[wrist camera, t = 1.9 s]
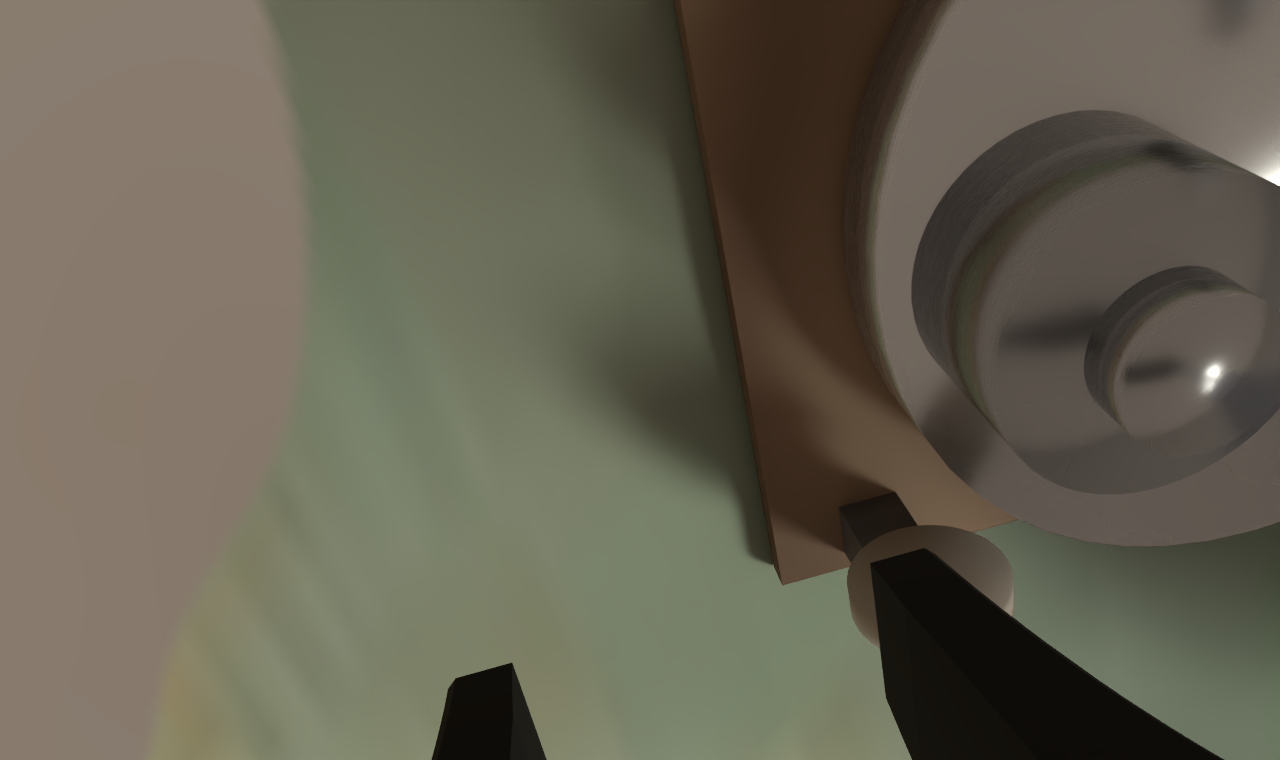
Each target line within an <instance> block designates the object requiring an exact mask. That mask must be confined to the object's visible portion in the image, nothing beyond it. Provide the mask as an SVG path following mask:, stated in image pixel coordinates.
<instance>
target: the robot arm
mask: <svg viewBox="0 0 1280 760" xmlns="http://www.w3.org/2000/svg"><path fill="white" fill-rule="evenodd" d="M870 568H871V576H872V585H873V593H874V601H875V610H876V618H877V626H878V635H879V643H880V651H881V660H882V668H883V676H884V685H885V693H886V699H887V701H888V704H889V706H890V708H891V711H892V713H893V716H894V718H895V720H896V723H897V725H898V728H899V730H900V732H901V735H902V737H903V739H904V742H905V744H906V747H907V749H908V751H909V753H910V756H911V758H912V760H1224V759H1222V758H1220V757H1219V756H1217V755H1215V754H1213V753H1212V752H1210V751H1208V750H1207V749H1205V748H1203V747H1202V746H1200V745H1198V744H1197V743H1195V742H1193V741H1192V740H1190V739H1188V738H1187V737H1185V736H1183V735H1182V734H1180V733H1179V732H1177V731H1175V730H1174V729H1172V728H1170V727H1169V726H1167V725H1166V724H1164V723H1163V722H1161V721H1160V720H1158V719H1156V718H1155V717H1153V716H1152V715H1150V714H1149V713H1147V712H1146V711H1144V710H1142V709H1141V708H1139V707H1138V706H1136V705H1135V704H1133V703H1132V702H1130V701H1129V700H1127V699H1125V698H1124V697H1122V696H1121V695H1120V694H1118V693H1117V692H1115V691H1114V690H1112V689H1111V688H1109V687H1108V686H1106V685H1105V684H1103V683H1102V682H1100V681H1099V680H1098V679H1096V678H1095V677H1093V676H1092V675H1090V674H1089V673H1088V672H1086V671H1085V670H1083V669H1082V668H1081V667H1079V666H1078V665H1077V664H1075V663H1074V662H1072V661H1071V660H1070V659H1068V658H1067V657H1065V656H1064V655H1063V654H1061V653H1060V652H1058V651H1057V650H1056V649H1054V648H1053V647H1052V646H1050V645H1049V644H1047V643H1046V642H1045V641H1043V640H1042V639H1041V638H1039V637H1038V636H1037V635H1035V634H1034V633H1033V632H1031V631H1030V630H1029V629H1027V628H1026V627H1025V626H1023V625H1022V624H1021V623H1020V622H1018V621H1017V620H1016V619H1014V618H1013V617H1012V616H1011V615H1009V614H1008V613H1007V612H1005V611H1004V610H1003V609H1002V608H1000V607H999V606H998V605H997V604H995V603H994V602H993V601H991V600H990V599H989V598H988V597H986V596H985V595H984V594H983V593H982V592H980V591H979V590H978V589H977V588H975V587H974V586H973V585H972V584H970V583H969V582H968V581H967V580H966V579H964V578H963V577H962V576H961V575H960V574H958V573H957V572H956V571H955V570H954V569H952V568H951V567H950V566H949V565H948V564H946V563H945V562H944V561H943V560H942V559H940V558H939V557H938V556H937V555H936V554H934V553H933V552H931V551H929V550H927V549H926V548H922V549H918V550H915V551H911V552H908V553H904V554H900V555H897V556H893V557H890V558H886V559H882V560H879V561H875V562H872V563H870ZM432 760H546V757H545V754H544V751H543V748H542V746H541V743H540V740H539V737H538V734H537V731H536V729H535V726H534V723H533V720H532V717H531V715H530V712H529V709H528V706H527V703H526V700H525V698H524V695H523V692H522V689H521V686H520V683H519V681H518V678H517V675H516V672H515V669H514V667H513V664H512V663H509V664H506V665H502V666H498V667H495V668H491V669H488V670H484V671H481V672H477V673H473V674H470V675H466V676H463V677H459V678H456V679H455V680H454V682H453V683H452V684H451V686H450V687H449V689H448V692H447V697H446V702H445V708H444V712H443V716H442V721H441V725H440V729H439V733H438V737H437V741H436V745H435V749H434V753H433V756H432Z"/></svg>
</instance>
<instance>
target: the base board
mask: <svg viewBox="0 0 1280 760" xmlns="http://www.w3.org/2000/svg"><path fill="white" fill-rule="evenodd" d="M903 3H904V0H674V5H675V11H676V16H677V22H678V28H679V33H680V39H681V45H682V50H683V56H684V61H685V67H686V73H687V78H688V84H689V90H690V95H691V101H692V106H693V112H694V118H695V123H696V129H697V135H698V140H699V146H700V152H701V157H702V163H703V168H704V174H705V180H706V185H707V191H708V197H709V202H710V208H711V213H712V219H713V225H714V230H715V236H716V242H717V247H718V253H719V259H720V264H721V270H722V275H723V281H724V287H725V292H726V298H727V304H728V309H729V315H730V320H731V326H732V332H733V337H734V343H735V349H736V354H737V360H738V366H739V371H740V377H741V382H742V388H743V394H744V399H745V405H746V411H747V416H748V422H749V428H750V433H751V439H752V444H753V450H754V456H755V461H756V467H757V473H758V478H759V484H760V489H761V495H762V501H763V506H764V512H765V518H766V523H767V529H768V535H769V540H770V546H771V551H772V557H773V563H774V568H775V570H776V572H777V574H778V577H779V579H780V581H781V583H782V585H785V584H789V583H793V582H796V581H800V580H803V579H807V578H811V577H814V576H818V575H821V574H825V573H828V572H832V571H836V570H839V569H843V568H846V567H849V570H848V575H847V586H848V593H849V601H850V608H851V613H852V617H853V620H854V622H855V624H856V626H857V627H858V629H859V631H860V632H861V633H862V634H863V635H864V636H865V637H866V638H867V639H868V640H869V641H870V642H871V643H873V644H874V645H876V646H877V647H879V648H880V643H879V635H878V626H877V618H876V610H875V601H874V593H873V585H872V576H871V568H870V563H872V562H875V561H879V560H882V559H886V558H890V557H893V556H897V555H900V554H904V553H908V552H911V551H915V550H918V549H922V548H926V549H927V550H929V551H931V552H933V553H934V554H936V555H937V556H938V557H939V558H940V559H942V560H943V561H944V562H945V563H946V564H948V565H949V566H950V567H951V568H952V569H954V570H955V571H956V572H957V573H958V574H960V575H961V576H962V577H963V578H964V579H966V580H967V581H968V582H969V583H970V584H972V585H973V586H974V587H975V588H977V589H978V590H979V591H980V592H982V593H983V594H984V595H985V596H986V597H988V598H989V599H990V600H991V601H993V602H994V603H995V604H997V605H998V606H999V607H1000V608H1002V609H1003V610H1004V611H1005V612H1007V613H1008V614H1009V615H1011V616H1012V617H1013V612H1014V590H1013V574H1012V569H1011V566H1010V564H1009V562H1008V560H1007V558H1006V557H1005V555H1004V554H1003V553H1002V552H1001V551H1000V550H999V549H998V548H997V547H996V546H995V545H994V544H992V543H991V542H989V541H988V540H986V539H985V538H983V537H981V536H979V535H977V534H975V533H972V532H976V531H979V530H983V529H986V528H990V527H994V526H997V525H1001V524H1004V523H1008V522H1012V521H1015V520H1019V519H1017V518H1015V517H1013V516H1011V515H1009V514H1007V513H1006V512H1004V511H1003V510H1001V509H1000V508H998V507H997V506H995V505H993V504H992V503H990V502H989V501H987V500H986V499H984V498H982V497H981V496H979V495H978V494H977V493H976V492H975V491H974V490H972V489H971V488H970V487H969V486H968V485H967V484H966V483H965V482H964V481H963V480H961V479H960V478H959V477H958V476H957V475H956V474H955V473H954V472H953V471H952V470H950V469H949V467H948V466H947V465H946V464H945V462H944V461H943V460H942V458H941V457H940V456H939V455H938V453H937V452H936V451H935V449H934V448H933V447H932V446H931V444H930V443H929V442H928V440H927V439H926V438H925V437H924V435H923V434H922V433H921V431H920V430H919V429H918V427H917V426H916V425H915V423H914V422H913V421H912V420H911V418H910V417H909V416H908V414H907V413H906V412H905V410H904V409H903V408H902V406H901V405H900V404H899V402H898V401H897V400H896V398H895V397H894V396H893V394H892V393H891V392H890V391H889V389H888V388H887V387H886V385H885V383H884V381H883V379H882V377H881V376H880V374H879V372H878V370H877V368H876V366H875V364H874V363H873V361H872V359H871V357H870V355H869V353H868V352H867V349H866V346H865V343H864V340H863V338H862V335H861V332H860V329H859V326H858V323H857V321H856V318H855V315H854V312H853V308H852V302H851V297H850V292H849V287H848V281H847V276H846V271H845V263H844V241H843V218H842V217H843V206H844V195H845V184H846V172H847V164H848V159H849V155H850V150H851V145H852V141H853V136H854V132H855V127H856V122H857V118H858V113H859V110H860V107H861V104H862V101H863V98H864V95H865V92H866V89H867V86H868V84H869V81H870V78H871V75H872V72H873V69H874V66H875V63H876V60H877V58H878V55H879V53H880V51H881V49H882V46H883V44H884V42H885V40H886V38H887V36H888V34H889V32H890V30H891V28H892V26H893V23H894V21H895V19H896V17H897V15H898V13H899V11H900V9H901V7H902V5H903Z"/></svg>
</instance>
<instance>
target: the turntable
mask: <svg viewBox="0 0 1280 760" xmlns="http://www.w3.org/2000/svg"><path fill="white" fill-rule="evenodd" d="M1085 110H1105V111H1116V112H1120V113H1124V114H1128V115H1133V116H1136V117H1138V118H1140V119H1142V120H1145V121H1147V122H1149V123H1152V124H1154V125H1156V126H1158V127H1160V128H1162V129H1164V130H1166V131H1168V132H1170V133H1172V134H1174V135H1176V136H1178V137H1180V138H1182V139H1184V140H1186V141H1188V142H1190V143H1193V144H1195V145H1197V146H1199V147H1201V148H1203V149H1205V150H1207V151H1209V152H1211V153H1213V154H1215V155H1217V156H1219V157H1221V158H1223V159H1225V160H1227V161H1229V162H1231V163H1233V164H1235V165H1238V166H1240V167H1242V168H1244V169H1246V170H1248V171H1250V172H1252V173H1254V174H1256V175H1258V176H1260V177H1262V178H1264V179H1266V180H1268V181H1270V182H1272V183H1274V184H1276V185H1278V186H1280V0H904V3H903V5H902V7H901V9H900V11H899V13H898V15H897V17H896V19H895V21H894V23H893V26H892V28H891V30H890V32H889V34H888V36H887V38H886V40H885V42H884V44H883V46H882V49H881V51H880V53H879V55H878V58H877V60H876V63H875V66H874V69H873V72H872V75H871V78H870V81H869V84H868V86H867V89H866V92H865V95H864V98H863V101H862V104H861V107H860V110H859V113H858V118H857V122H856V127H855V132H854V136H853V141H852V145H851V150H850V155H849V159H848V164H847V172H846V184H845V195H844V206H843V217H842V218H843V241H844V263H845V271H846V276H847V281H848V287H849V292H850V297H851V302H852V308H853V312H854V315H855V318H856V321H857V323H858V326H859V329H860V332H861V335H862V338H863V340H864V343H865V346H866V349H867V352H868V353H869V355H870V357H871V359H872V361H873V363H874V364H875V366H876V368H877V370H878V372H879V374H880V376H881V377H882V379H883V381H884V383H885V385H886V387H887V388H888V389H889V391H890V392H891V393H892V394H893V396H894V397H895V398H896V400H897V401H898V402H899V404H900V405H901V406H902V408H903V409H904V410H905V412H906V413H907V414H908V416H909V417H910V418H911V420H912V421H913V422H914V423H915V425H916V426H917V427H918V429H919V430H920V431H921V433H922V434H923V435H924V437H925V438H926V439H927V440H928V442H929V443H930V444H931V446H932V447H933V448H934V449H935V451H936V452H937V453H938V455H939V456H940V457H941V458H942V460H943V461H944V462H945V464H946V465H947V466H948V467H949V469H950V470H952V471H953V472H954V473H955V474H956V475H957V476H958V477H959V478H960V479H961V480H963V481H964V482H965V483H966V484H967V485H968V486H969V487H970V488H971V489H972V490H974V491H975V492H976V493H977V494H978V495H979V496H981V497H982V498H984V499H986V500H987V501H989V502H990V503H992V504H993V505H995V506H997V507H998V508H1000V509H1001V510H1003V511H1004V512H1006V513H1007V514H1009V515H1011V516H1013V517H1015V518H1017V519H1020V520H1022V521H1024V522H1027V523H1029V524H1031V525H1034V526H1036V527H1038V528H1040V529H1043V530H1045V531H1048V532H1052V533H1055V534H1059V535H1063V536H1067V537H1071V538H1074V539H1078V540H1082V541H1086V542H1095V543H1103V544H1111V545H1119V546H1171V545H1179V544H1187V543H1195V542H1204V541H1211V540H1215V539H1220V538H1224V537H1228V536H1233V535H1237V534H1241V533H1246V532H1250V531H1254V530H1257V529H1260V528H1263V527H1266V526H1269V525H1272V524H1275V523H1278V522H1280V408H1279V410H1278V411H1277V412H1276V413H1275V414H1274V415H1273V417H1272V418H1271V419H1270V420H1269V421H1268V422H1266V423H1265V424H1264V425H1263V426H1262V427H1261V428H1260V429H1259V430H1258V431H1257V432H1256V433H1255V434H1254V435H1253V436H1251V437H1250V438H1249V439H1248V440H1247V441H1245V442H1244V443H1243V444H1242V445H1240V446H1239V447H1238V448H1237V449H1235V450H1234V451H1232V452H1231V453H1229V454H1228V455H1226V456H1225V457H1223V458H1222V459H1220V460H1219V461H1217V462H1215V463H1214V464H1212V465H1210V466H1208V467H1207V468H1205V469H1203V470H1201V471H1199V472H1197V473H1195V474H1193V475H1190V476H1188V477H1186V478H1184V479H1181V480H1179V481H1176V482H1173V483H1170V484H1168V485H1165V486H1162V487H1159V488H1154V489H1150V490H1145V491H1141V492H1135V493H1126V494H1092V493H1084V492H1078V491H1075V490H1071V489H1068V488H1064V487H1061V486H1059V485H1057V484H1055V483H1053V482H1050V481H1048V480H1046V479H1045V478H1043V477H1042V476H1040V475H1039V474H1037V473H1036V472H1034V471H1033V470H1032V469H1031V468H1030V467H1029V466H1028V465H1026V464H1025V463H1024V462H1023V461H1022V460H1021V459H1020V458H1019V457H1018V455H1017V454H1016V453H1015V452H1014V451H1013V450H1012V449H1011V447H1010V446H1009V445H1008V444H1007V443H1006V442H1005V441H1004V439H1003V438H1002V437H1001V436H1000V435H999V434H998V433H997V431H996V430H995V429H994V428H993V427H992V426H991V424H990V423H989V422H988V421H987V420H986V419H985V418H984V416H983V415H982V414H981V413H980V412H979V411H978V410H977V408H976V407H975V406H974V405H973V404H972V403H971V402H970V400H969V399H968V398H967V397H966V396H965V395H964V394H963V392H962V391H961V390H960V389H959V388H958V387H957V386H956V384H955V383H954V382H953V381H952V380H951V379H950V378H949V376H948V375H947V374H946V373H945V372H944V371H943V370H942V368H941V367H940V366H939V365H938V364H937V363H936V361H935V360H934V359H933V357H932V356H931V355H930V353H929V352H928V351H927V349H926V347H925V345H924V343H923V341H922V339H921V337H920V335H919V332H918V329H917V326H916V323H915V320H914V314H913V308H912V302H911V282H912V274H913V266H914V261H915V257H916V253H917V249H918V246H919V243H920V240H921V238H922V235H923V233H924V230H925V227H926V225H927V223H928V221H929V219H930V218H931V216H932V214H933V212H934V210H935V208H936V206H937V205H938V203H939V202H940V200H941V199H942V198H943V196H944V195H945V193H946V192H947V190H948V189H949V188H950V186H951V185H952V184H953V183H954V182H955V180H956V179H957V178H958V177H959V176H960V175H961V173H962V172H963V171H964V170H965V169H966V168H967V167H968V166H969V165H970V164H972V163H973V162H974V161H975V160H976V159H977V158H978V157H979V156H980V155H981V154H983V153H984V152H985V151H987V150H988V149H989V148H991V147H992V146H993V145H994V144H996V143H997V142H999V141H1000V140H1002V139H1004V138H1005V137H1007V136H1009V135H1010V134H1012V133H1013V132H1015V131H1017V130H1019V129H1021V128H1023V127H1026V126H1028V125H1030V124H1032V123H1034V122H1036V121H1039V120H1042V119H1046V118H1049V117H1052V116H1055V115H1059V114H1064V113H1069V112H1074V111H1085Z"/></svg>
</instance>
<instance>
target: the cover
mask: <svg viewBox="0 0 1280 760" xmlns="http://www.w3.org/2000/svg"><path fill="white" fill-rule="evenodd" d="M911 302H912V308H913V314H914V320H915V323H916V326H917V329H918V332H919V335H920V337H921V339H922V341H923V343H924V345H925V347H926V349H927V351H928V352H929V353H930V355H931V356H932V357H933V359H934V360H935V361H936V363H937V364H938V365H939V366H940V367H941V368H942V370H943V371H944V372H945V373H946V374H947V375H948V376H949V378H950V379H951V380H952V381H953V382H954V383H955V384H956V386H957V387H958V388H959V389H960V390H961V391H962V392H963V394H964V395H965V396H966V397H967V398H968V399H969V400H970V402H971V403H972V404H973V405H974V406H975V407H976V408H977V410H978V411H979V412H980V413H981V414H982V415H983V416H984V418H985V419H986V420H987V421H988V422H989V423H990V424H991V426H992V427H993V428H994V429H995V430H996V431H997V433H998V434H999V435H1000V436H1001V437H1002V438H1003V439H1004V441H1005V442H1006V443H1007V444H1008V445H1009V446H1010V447H1011V449H1012V450H1013V451H1014V452H1015V453H1016V454H1017V455H1018V457H1019V458H1020V459H1021V460H1022V461H1023V462H1024V463H1025V464H1026V465H1028V466H1029V467H1030V468H1031V469H1032V470H1033V471H1034V472H1036V473H1037V474H1039V475H1040V476H1042V477H1043V478H1045V479H1046V480H1048V481H1050V482H1053V483H1055V484H1057V485H1059V486H1061V487H1064V488H1068V489H1071V490H1075V491H1078V492H1084V493H1092V494H1126V493H1135V492H1141V491H1145V490H1150V489H1154V488H1159V487H1162V486H1165V485H1168V484H1170V483H1173V482H1176V481H1179V480H1181V479H1184V478H1186V477H1188V476H1190V475H1193V474H1195V473H1197V472H1199V471H1201V470H1203V469H1205V468H1207V467H1208V466H1210V465H1212V464H1214V463H1215V462H1217V461H1219V460H1220V459H1222V458H1223V457H1225V456H1226V455H1228V454H1229V453H1231V452H1232V451H1234V450H1235V449H1237V448H1238V447H1239V446H1240V445H1242V444H1243V443H1244V442H1245V441H1247V440H1248V439H1249V438H1250V437H1251V436H1253V435H1254V434H1255V433H1256V432H1257V431H1258V430H1259V429H1260V428H1261V427H1262V426H1263V425H1264V424H1265V423H1266V422H1268V421H1269V420H1270V419H1271V418H1272V417H1273V415H1274V414H1275V413H1276V412H1277V411H1278V410H1279V408H1280V186H1278V185H1276V184H1274V183H1272V182H1270V181H1268V180H1266V179H1264V178H1262V177H1260V176H1258V175H1256V174H1254V173H1252V172H1250V171H1248V170H1246V169H1244V168H1242V167H1240V166H1238V165H1235V164H1233V163H1231V162H1229V161H1227V160H1225V159H1223V158H1221V157H1219V156H1217V155H1215V154H1213V153H1211V152H1209V151H1207V150H1205V149H1203V148H1201V147H1199V146H1197V145H1195V144H1193V143H1190V142H1188V141H1186V140H1184V139H1182V138H1180V137H1178V136H1176V135H1174V134H1172V133H1170V132H1168V131H1166V130H1164V129H1162V128H1160V127H1158V126H1156V125H1154V124H1152V123H1149V122H1147V121H1145V120H1142V119H1140V118H1138V117H1136V116H1133V115H1128V114H1124V113H1120V112H1116V111H1105V110H1085V111H1074V112H1069V113H1064V114H1059V115H1055V116H1052V117H1049V118H1046V119H1042V120H1039V121H1036V122H1034V123H1032V124H1030V125H1028V126H1026V127H1023V128H1021V129H1019V130H1017V131H1015V132H1013V133H1012V134H1010V135H1009V136H1007V137H1005V138H1004V139H1002V140H1000V141H999V142H997V143H996V144H994V145H993V146H992V147H991V148H989V149H988V150H987V151H985V152H984V153H983V154H981V155H980V156H979V157H978V158H977V159H976V160H975V161H974V162H973V163H972V164H970V165H969V166H968V167H967V168H966V169H965V170H964V171H963V172H962V173H961V175H960V176H959V177H958V178H957V179H956V180H955V182H954V183H953V184H952V185H951V186H950V188H949V189H948V190H947V192H946V193H945V195H944V196H943V198H942V199H941V200H940V202H939V203H938V205H937V206H936V208H935V210H934V212H933V214H932V216H931V218H930V219H929V221H928V223H927V225H926V227H925V230H924V233H923V235H922V238H921V240H920V243H919V246H918V249H917V253H916V257H915V261H914V266H913V274H912V282H911Z"/></svg>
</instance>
